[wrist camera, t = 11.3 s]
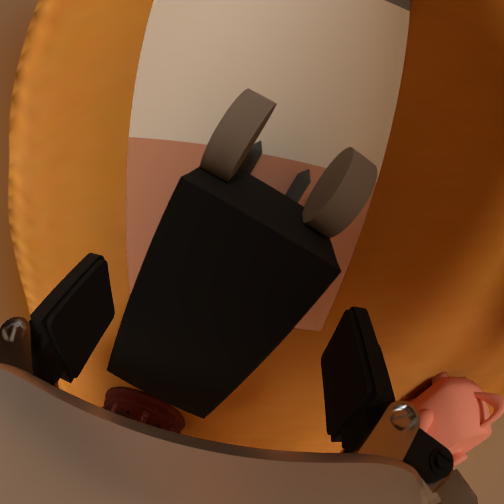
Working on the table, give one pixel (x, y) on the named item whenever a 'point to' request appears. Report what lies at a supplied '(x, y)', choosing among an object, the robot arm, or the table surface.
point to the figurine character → (232, 265)
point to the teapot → (457, 413)
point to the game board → (270, 86)
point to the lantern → (143, 409)
